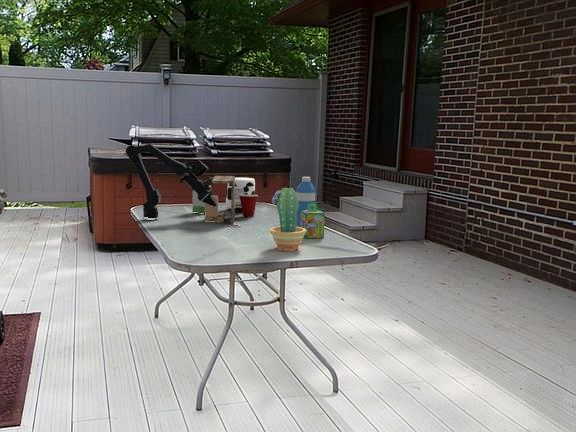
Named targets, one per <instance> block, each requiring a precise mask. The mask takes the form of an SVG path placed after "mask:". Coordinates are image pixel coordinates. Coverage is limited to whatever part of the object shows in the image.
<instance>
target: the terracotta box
mask: <svg viewBox="0 0 576 432" xmlns="http://www.w3.org/2000/svg"><path fill="white" fill-rule="evenodd" d="M210 197H211V198H212V200H213V201H214V202H215V204H216V206H215V207H214V206H212V205H209V204H207V203H205V210H206V215H205V217H218V214H219V196H218V195H213V196H210Z"/></svg>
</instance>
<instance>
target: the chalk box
mask: <svg viewBox="0 0 576 432" xmlns="http://www.w3.org/2000/svg"><path fill="white" fill-rule="evenodd" d="M317 204H318V203H315V204H307V210H301V211H300V227H301V228H305V229H306V230H307V231H306V234H305V235H304V237H303V239H324V238H325V235H324V234H325V221H326V220H325V217H326V216H325V215H326V213H325V212H323V211H322V210H319V209H318V205H317ZM311 206H313V207H314V209H313V210H311V209H310V207H311Z"/></svg>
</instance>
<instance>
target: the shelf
mask: <svg viewBox="0 0 576 432" xmlns="http://www.w3.org/2000/svg"><path fill="white" fill-rule="evenodd" d="M235 176H236V175H214V176H213V180H212V183H215V184H223V185H224V184H225V185H226V184H227V185H228V184H231V210H230V213H231V218H230V219H231V220H230V221H231V223H230V225H232V226H234V225H235V223H234V222H235V216H236V214H235V213H236V211H235V178H236V177H235ZM225 214H226V213H225V212H221V213H218V217H206V216H204V222H205V221H215V222H214V223H225V220H224V219H226V215H225Z"/></svg>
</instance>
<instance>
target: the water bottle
mask: <svg viewBox="0 0 576 432" xmlns="http://www.w3.org/2000/svg"><path fill="white" fill-rule="evenodd" d="M295 192H296V193H297V195H298V197H299V206H298V211H297V214H296V227H300V211H301V210H307V204H316V192H317V191H316V188H315V186H314V184H313V182H312V181H311V176H302V177H301V182H300V183H299V184H298V185H297V186H296V191H295ZM310 209H311V210H313V209H314V207H313V206H311V207H310Z"/></svg>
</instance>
